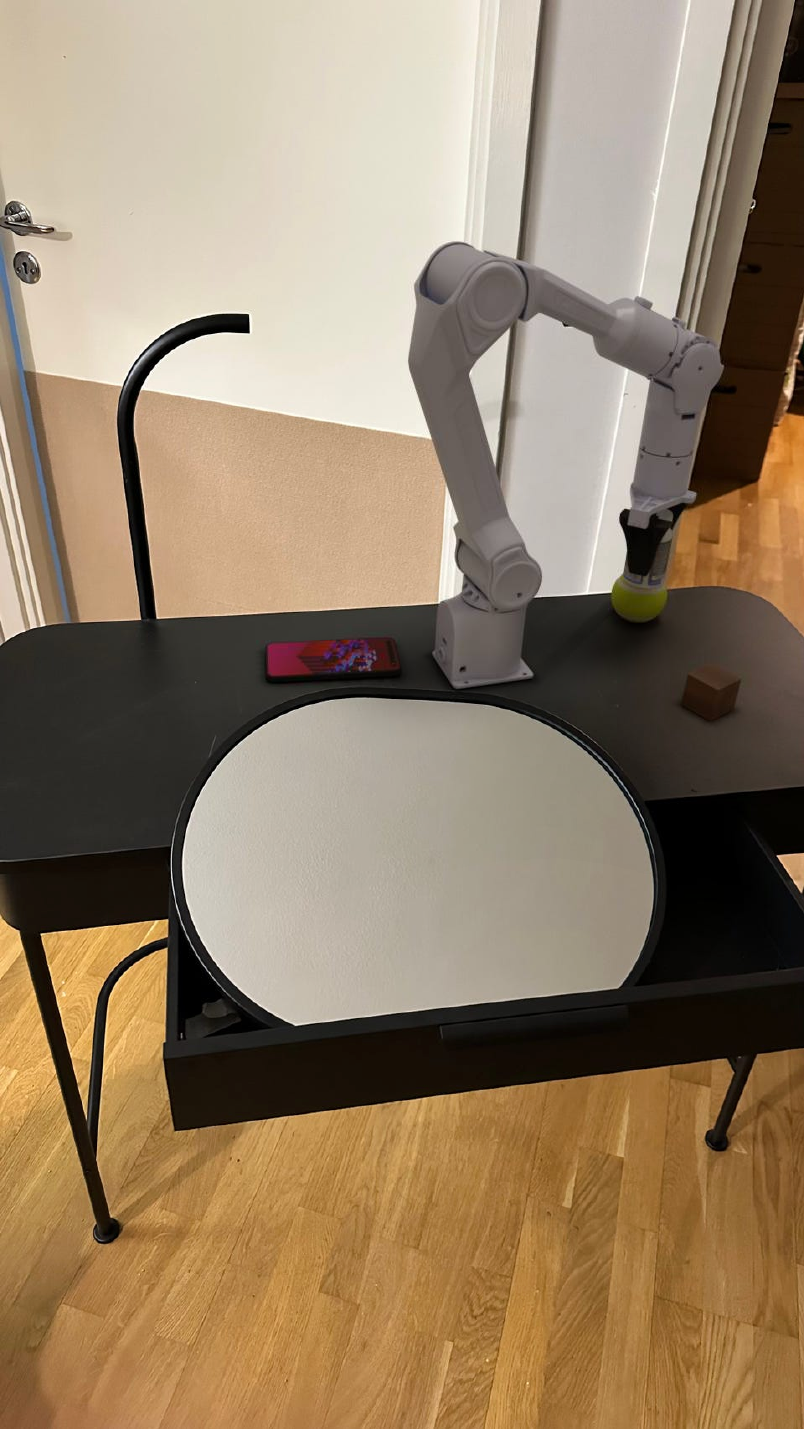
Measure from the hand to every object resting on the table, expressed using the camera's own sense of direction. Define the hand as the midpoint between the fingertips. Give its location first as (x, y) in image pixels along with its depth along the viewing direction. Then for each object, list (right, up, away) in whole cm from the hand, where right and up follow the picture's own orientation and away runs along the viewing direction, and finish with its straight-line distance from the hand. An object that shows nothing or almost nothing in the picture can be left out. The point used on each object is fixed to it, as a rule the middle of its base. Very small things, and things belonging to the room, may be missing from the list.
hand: (644, 565), depth 112 cm
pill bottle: (0, -2, +1) cm, 2 cm away
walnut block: (+5, -16, -6) cm, 18 cm away
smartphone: (-36, -11, -1) cm, 38 cm away
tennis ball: (+1, -5, +10) cm, 12 cm away
